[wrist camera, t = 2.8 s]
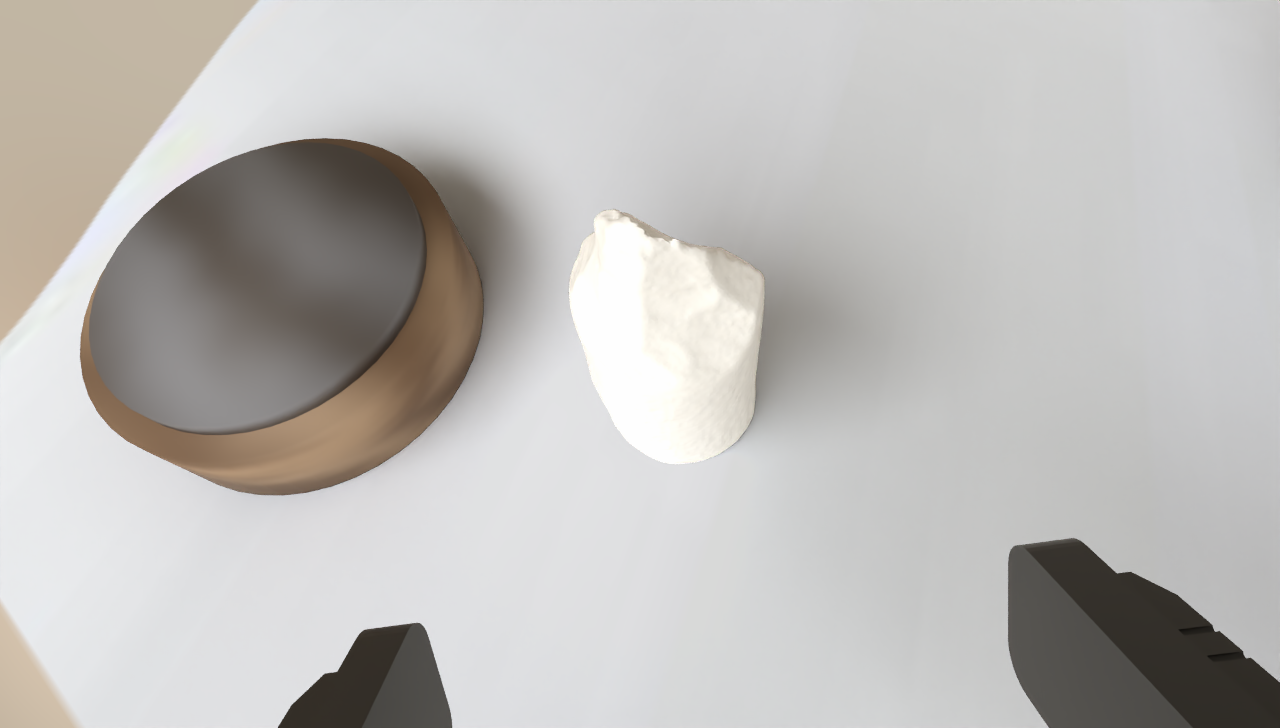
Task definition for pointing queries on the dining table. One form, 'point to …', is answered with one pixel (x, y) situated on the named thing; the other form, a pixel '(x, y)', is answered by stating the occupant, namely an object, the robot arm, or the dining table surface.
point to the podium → (284, 318)
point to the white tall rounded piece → (668, 337)
